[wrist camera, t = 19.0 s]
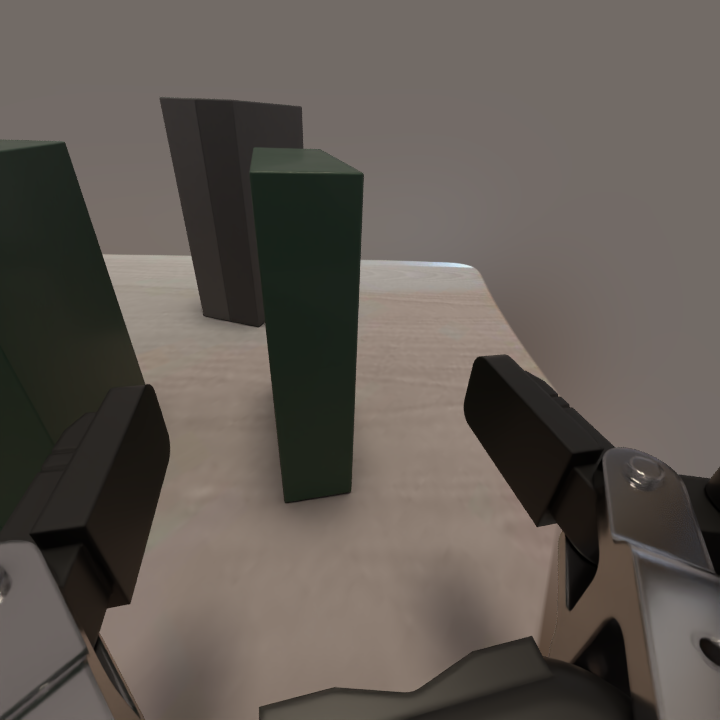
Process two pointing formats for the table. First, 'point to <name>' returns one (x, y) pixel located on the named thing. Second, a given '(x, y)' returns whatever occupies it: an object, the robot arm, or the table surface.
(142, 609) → the table surface
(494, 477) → the table surface
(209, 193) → the grey faceted block
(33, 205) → the green rectangular block
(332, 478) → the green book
